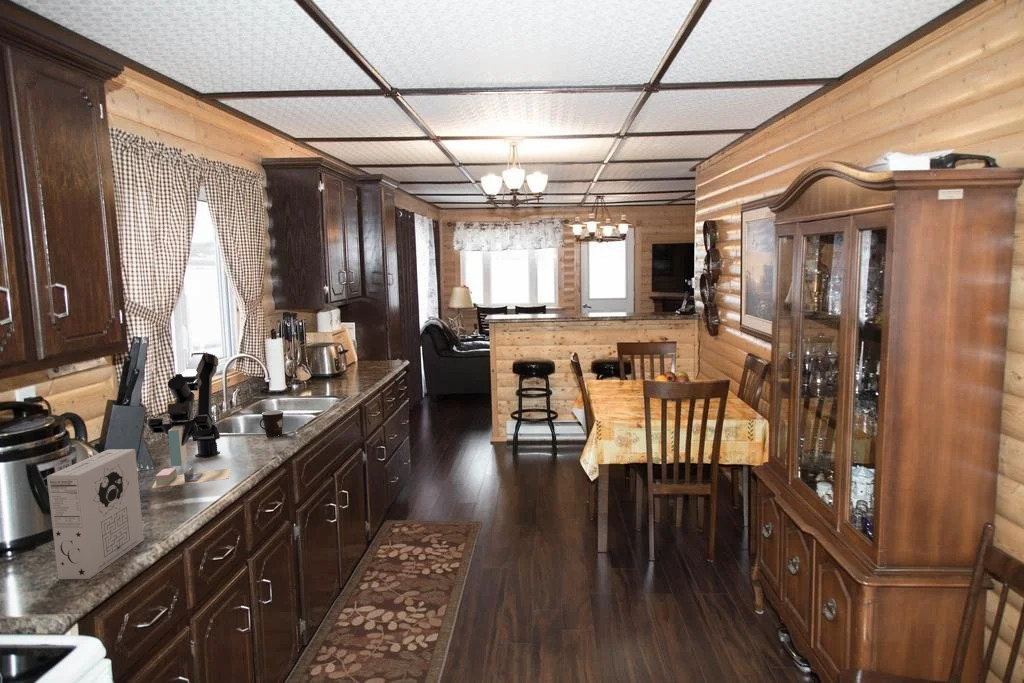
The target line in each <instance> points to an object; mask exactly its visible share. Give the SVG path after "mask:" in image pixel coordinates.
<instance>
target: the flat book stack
mask: <svg viewBox="0 0 1024 683" xmlns="http://www.w3.org/2000/svg"><path fill="white" fill-rule="evenodd" d="M177 475H178V472H177V467H171V468H170V467H169V468H162V470H160V471H159V472H158V473H156V475H155V481H156V485H161V484H170V483H171V482H172V481H173V480H174V479H175V478H176V477H177Z"/></svg>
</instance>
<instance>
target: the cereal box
mask: <svg viewBox="0 0 1024 683" xmlns="http://www.w3.org/2000/svg"><path fill="white" fill-rule="evenodd" d="M136 452H137V451H136V449H134V448H128V449H127V448H125V449H123V448H120V449H117V448H116V449H114V448H112V449H106V450H104V451H101V452H99V453H97V454H95V455H92V456H90V457H88V458H85V459H83V460H81V461H79V462H77V463H74V464H72V465H68V466H67V467H65V468H62V469H60V470H58V471H55V472H53V473H51V474H49V475H47V476H46V480H47V481H46V482H47V489H48V497H49V498H48V500H49V507H50V508H49V509H50V517H51V525H52V534H53V535H52V536H53V543H54V551H55V560H56V561H55V563H56V570H57V579H58V580H90V579H92V578H93V577H94V576H96V575H98V573H100V572H101V571H103V570H104V569H106V567H108V566H110V565H112V564H113V563H114V562H115V561H117V560H118V559H120V558H121V557H123V556H124V555H125V554H127V553H128V552H130V551H131V550H132V549H134V548H136V546H138V545H140V544H141V543H142V542H143V541H145V540H144V539H145V538H144V527H143V516H142V507H141V506H142V505H141V495H140V484H139V476H138V463H137V453H136Z"/></svg>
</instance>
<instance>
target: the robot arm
mask: <svg viewBox="0 0 1024 683" xmlns="http://www.w3.org/2000/svg"><path fill="white" fill-rule="evenodd" d="M190 356H191V358H190V361H189V362H188V365H186V366H187V367H186V369H185V370H184V371H182V372H181V373H175V375H174V376H173V377H171V378H170V379H169V380H168V382H167V387H168V390H169V392H170V393H171V394H172V397H173V398H174V401H175V402H174V403H168V404H167V409H166V413H167V414H168V415H169V419H165V420H164V418H163V417H151V418H150V419H148V422H147V426H148V428H149V429H150V431H151V432H152V433H153V434H163V433H164V434H165V435H167V438H168V439H167V440H168V441H169V437H168V431H169V430H170V429H171V428H173V427H174V426H184V433H183V437H182V443H181V445H182V446H184V444H185V443H186V444H187V442H188V441H189V440H190V438H191V437H192V442H196V445H197V446H196V447H197V454H194V457H200V458H210V457H213V456H216V455H218V454H220V453H221V451H219V450H218V442H217V440H218V439H221V435H220V430H219V428H218V426H217V424H216V420H215V417H213V415H212V390H213V389H212V388H213V386H212V385H213V382H212V381H213V377H214V376H215V375H216V373H217V368H218V366H219V358H218V357H217V356H216V355H215V354H212V353H208V352H206V351H193V352H191V355H190ZM194 392H198V398H197V399H198V401H197V414H196V415H195V416H194V417H193V418H192V416H193V413H194V412H193V408H194V403H195V401H196V399H195V393H194ZM170 419H171V420H170Z"/></svg>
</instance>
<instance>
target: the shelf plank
mask: <svg viewBox="0 0 1024 683" xmlns="http://www.w3.org/2000/svg"><path fill="white" fill-rule="evenodd" d="M231 470H232V469H231V468H224V469H216V470H215V469H214V470H207V471H199V472H193V474H203V475H202V476H201V477H200V478H199V480H198V481H193V482H185V479H184V473H183V474H177V477H176V478H175V479H174V480H173V481H172V482H171V483H170V484H161V485H156V480H155V481H154V483H153V485H152V486H151V489H156V488H165V487H172V486H181V485H182V486H183V485H189V484H197V483H205V482H213V481H214V482H215V481H222V480H229V478H230V475H231V474H230V473H231Z"/></svg>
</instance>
